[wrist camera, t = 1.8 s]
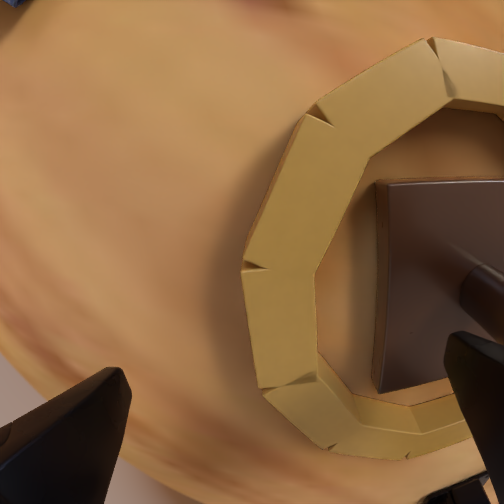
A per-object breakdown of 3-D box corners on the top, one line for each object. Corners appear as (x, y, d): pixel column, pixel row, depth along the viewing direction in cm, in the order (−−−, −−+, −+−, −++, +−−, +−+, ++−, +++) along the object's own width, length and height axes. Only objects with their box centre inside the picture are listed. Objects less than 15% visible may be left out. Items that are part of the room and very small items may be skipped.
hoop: (533, 380, 12) (549, 398, 10) (273, 451, 13) (273, 482, 12) (567, 92, 7) (593, 91, 5) (219, 59, 9) (208, 38, 7)
